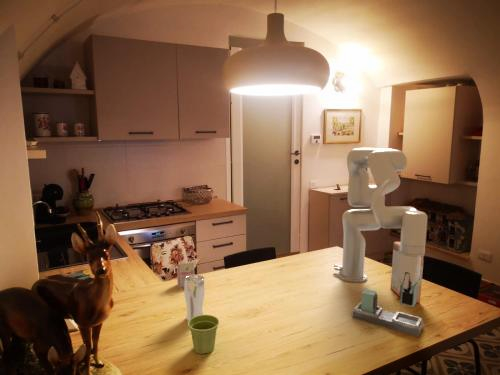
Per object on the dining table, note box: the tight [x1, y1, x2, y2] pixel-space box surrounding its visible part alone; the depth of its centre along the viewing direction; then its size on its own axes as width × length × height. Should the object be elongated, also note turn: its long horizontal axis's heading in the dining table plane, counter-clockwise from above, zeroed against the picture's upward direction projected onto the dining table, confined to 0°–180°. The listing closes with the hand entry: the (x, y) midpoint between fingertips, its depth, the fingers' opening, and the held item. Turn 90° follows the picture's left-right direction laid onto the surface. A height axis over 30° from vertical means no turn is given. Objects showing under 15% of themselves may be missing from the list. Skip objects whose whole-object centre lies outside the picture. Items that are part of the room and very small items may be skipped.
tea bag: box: [176, 261, 196, 289], centre depth 159 cm, size 4×7×10 cm, turn 110°
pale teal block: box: [399, 282, 417, 308], centre depth 124 cm, size 4×4×7 cm
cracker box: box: [389, 241, 425, 304], centre depth 150 cm, size 14×6×21 cm, turn 5°
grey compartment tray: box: [351, 301, 424, 338], centre depth 130 cm, size 22×7×4 cm, turn 55°
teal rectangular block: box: [360, 288, 379, 313], centre depth 133 cm, size 4×4×7 cm
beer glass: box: [183, 274, 206, 322], centre depth 130 cm, size 7×7×15 cm
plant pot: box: [187, 314, 220, 355], centre depth 113 cm, size 9×9×9 cm
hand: (408, 300), depth 125 cm, fingers closed on pale teal block, 4 cm apart
